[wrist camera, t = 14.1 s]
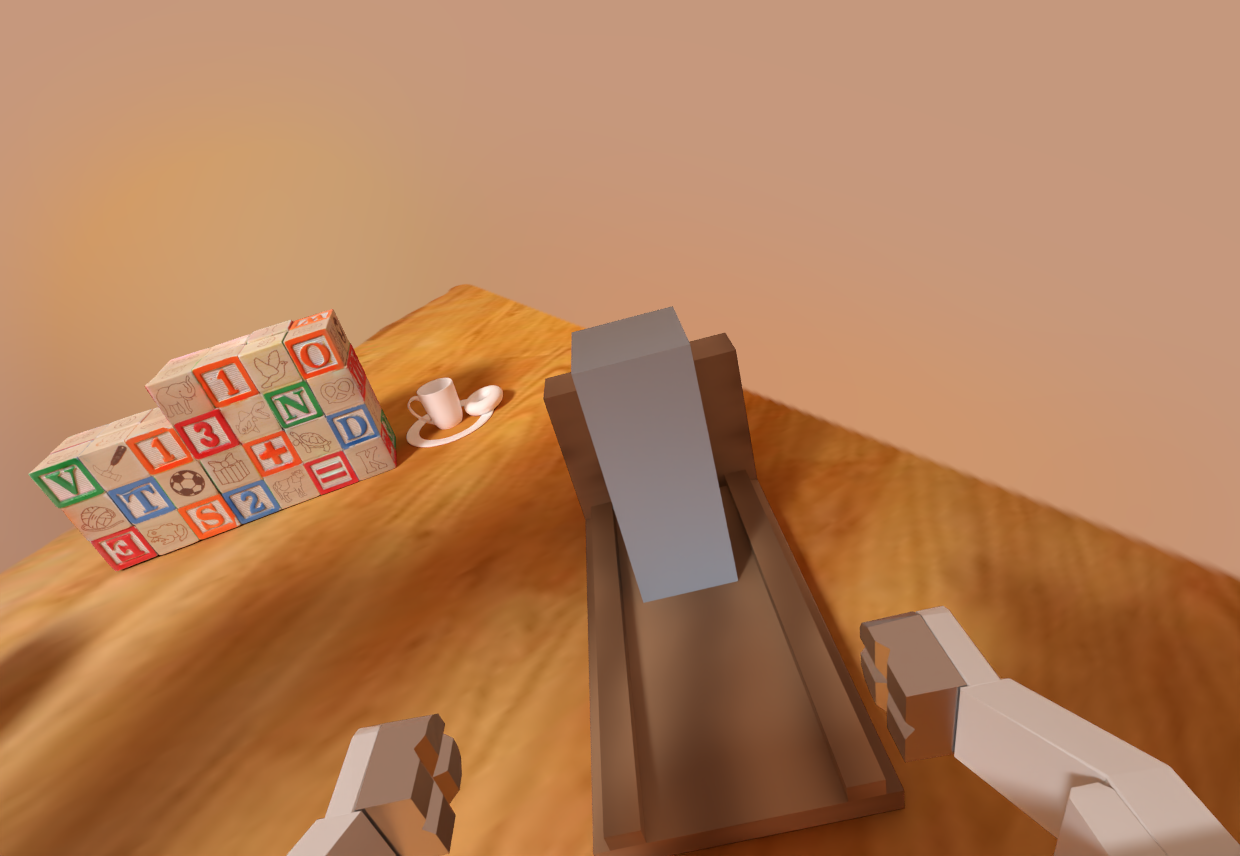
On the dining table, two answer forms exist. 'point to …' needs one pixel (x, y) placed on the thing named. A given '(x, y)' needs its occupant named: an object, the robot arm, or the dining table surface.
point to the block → (654, 451)
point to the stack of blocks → (224, 442)
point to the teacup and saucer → (450, 409)
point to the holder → (714, 667)
